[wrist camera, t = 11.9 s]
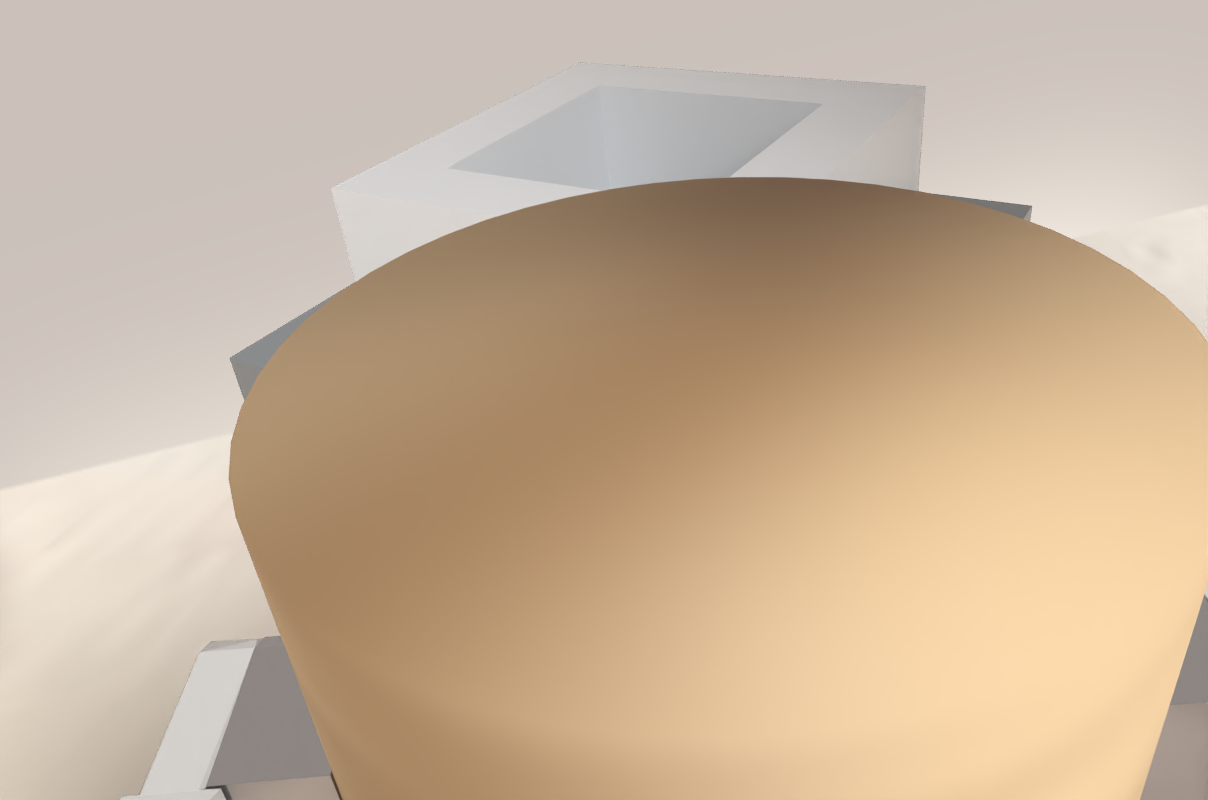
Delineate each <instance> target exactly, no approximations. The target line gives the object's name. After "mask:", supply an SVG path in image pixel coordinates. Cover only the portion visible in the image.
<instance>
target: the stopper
mask: <svg viewBox="0 0 1208 800" xmlns="http://www.w3.org/2000/svg"><path fill="white" fill-rule="evenodd" d="M229 483H230V488H231V494H232V499H233V504H234V510H235V515H236V519H237V522H238V524H239V527H240V530H241V532H242V535H243V537H244V540H245V543H246V545H247V548H248V551H249V553H250V556H251V559H252V561H253V564H254V567H255V569H256V572H257V575H258V577H259V580H260V582H261V585H262V588H263V590H264V593H265V596H266V598H267V601H268V604H269V606H270V609H271V612H272V614H273V617H274V620H275V622H276V625H277V627H278V630H279V633H280V635H281V638H282V641H283V643H284V646H285V649H286V651H287V654H288V657H289V659H290V662H291V664H292V667H293V670H294V672H295V675H296V678H297V680H298V683H299V686H300V688H301V691H302V694H303V696H304V699H305V702H306V704H307V707H308V709H309V712H310V715H311V717H312V720H313V723H314V725H315V728H316V731H317V733H318V736H319V739H320V741H321V744H322V746H323V749H324V752H325V754H326V757H327V760H328V762H329V765H330V768H331V770H332V773H333V776H334V778H335V781H336V784H337V786H338V789H339V791H340V794H341V797H342V799H343V800H1140V798H1141V794H1142V791H1143V788H1144V785H1145V782H1146V778H1147V775H1148V772H1149V769H1150V766H1151V763H1152V759H1153V756H1154V753H1155V750H1156V747H1157V744H1158V740H1159V737H1160V734H1161V731H1162V728H1163V724H1164V721H1165V718H1166V715H1167V712H1168V709H1169V705H1170V702H1171V699H1172V696H1173V693H1174V690H1175V686H1176V683H1177V680H1178V677H1179V674H1180V670H1181V667H1182V664H1183V661H1184V658H1185V655H1186V651H1187V648H1188V645H1189V642H1190V639H1191V636H1192V632H1193V629H1194V626H1195V623H1196V620H1197V616H1198V613H1199V610H1200V607H1201V604H1202V601H1203V597H1204V594H1205V591H1206V588H1207V585H1208V342H1207V341H1206V340H1205V338H1204V337H1203V335H1202V334H1201V333H1200V331H1199V330H1198V329H1197V327H1196V326H1195V325H1194V324H1193V323H1192V322H1191V321H1190V320H1189V319H1188V318H1187V317H1186V316H1185V315H1184V314H1183V313H1182V312H1181V311H1180V310H1179V309H1178V308H1177V307H1176V306H1175V305H1174V304H1173V303H1172V302H1170V301H1169V300H1168V299H1167V298H1166V297H1165V296H1164V295H1163V294H1161V293H1160V292H1159V291H1157V290H1156V289H1155V288H1153V287H1152V286H1150V285H1149V284H1148V283H1146V282H1145V281H1144V280H1142V279H1141V278H1140V277H1138V276H1137V275H1136V274H1134V273H1133V272H1132V271H1130V270H1128V269H1127V268H1125V267H1123V266H1121V265H1120V264H1118V263H1116V262H1115V261H1113V260H1111V259H1109V258H1108V257H1106V256H1104V255H1103V254H1101V253H1099V252H1097V251H1096V250H1094V249H1092V248H1090V247H1088V246H1086V245H1084V244H1081V243H1079V242H1077V241H1075V240H1073V239H1071V238H1068V237H1066V236H1064V235H1062V234H1060V233H1058V232H1055V231H1053V230H1051V229H1048V228H1045V227H1043V226H1040V225H1037V224H1034V223H1032V222H1029V221H1026V220H1024V219H1021V218H1018V217H1016V216H1013V215H1010V214H1007V213H1003V212H1000V211H996V210H993V209H990V208H986V207H983V206H979V205H976V204H972V203H969V202H965V201H961V200H956V199H952V198H947V197H943V196H938V195H934V194H929V193H924V192H919V191H914V190H907V189H901V188H895V187H889V186H882V185H876V184H867V183H857V182H848V181H839V180H827V179H809V178H790V177H731V178H708V179H691V180H680V181H670V182H659V183H650V184H643V185H636V186H629V187H622V188H615V189H608V190H603V191H598V192H592V193H587V194H582V195H577V196H572V197H567V198H563V199H559V200H555V201H551V202H547V203H543V204H539V205H534V206H530V207H526V208H523V209H520V210H516V211H513V212H510V213H507V214H503V215H500V216H497V217H494V218H490V219H487V220H484V221H481V222H479V223H476V224H473V225H471V226H468V227H465V228H463V229H460V230H457V231H455V232H452V233H449V234H447V235H444V236H442V237H440V238H438V239H435V240H433V241H431V242H429V243H426V244H424V245H422V246H420V247H418V248H415V249H413V250H411V251H409V252H407V253H405V254H403V255H401V256H399V257H397V258H396V259H394V260H392V261H390V262H388V263H386V264H385V265H383V266H381V267H379V268H377V269H375V270H373V271H372V272H370V273H369V274H367V275H365V276H364V277H362V278H361V279H359V280H358V281H356V282H355V283H353V284H352V285H350V286H349V287H347V288H346V289H344V290H343V291H341V292H340V293H338V294H337V295H335V296H334V297H333V298H332V299H331V300H329V301H328V302H327V303H326V304H324V305H323V306H322V307H321V308H319V309H318V310H317V311H316V312H314V313H313V314H312V315H311V316H309V317H308V318H307V319H306V320H305V321H304V322H303V323H302V324H301V325H300V326H299V327H298V328H297V329H296V330H295V331H294V332H293V333H292V334H291V335H290V336H289V337H288V338H287V339H286V340H285V341H284V342H283V343H282V344H281V345H280V347H279V348H278V349H277V351H276V352H275V353H274V355H273V356H272V357H271V359H270V360H269V361H268V363H267V364H266V365H265V367H264V368H263V369H262V371H261V372H260V373H259V375H258V376H257V378H256V380H255V382H254V384H253V386H252V388H251V390H250V392H249V393H248V395H247V397H246V399H245V401H244V403H243V405H242V407H241V410H240V413H239V417H238V420H237V424H236V427H235V430H234V434H233V437H232V441H231V451H230V467H229Z"/></svg>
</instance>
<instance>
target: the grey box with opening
mask: <svg viewBox="0 0 1208 800" xmlns="http://www.w3.org/2000/svg"><path fill="white" fill-rule="evenodd" d="M924 102H925V86H915V85H900V84H886V83H885V84H884V83H871V82H857V81H841V80H828V79H813V78H799V77H784V76H783V77H782V76H770V75H755V74H740V73H726V72H712V71H697V70H683V69H668V68H653V67H639V66H625V65H610V64H596V63H595V64H594V63H581V62H580V63H578V64H576V65H575V66H572V67H570V68H568V69H566V70H565V71H562V72H560V73H558V74H556V75H554V76H552V77H550V78H548V79H546V80H544V81H542V82H540V83H538V84H536V85H534V86H532V87H530V88H528V89H527V90H525V91H523V92H521V93H519V94H517V95H515V96H513V97H511V98H509V99H507V100H505V101H503V102H501V103H499V104H497V105H495V106H493V107H491V108H489V109H487V110H485V111H483V112H481V113H479V114H477V115H475V116H473V117H471V118H469V119H467V120H465V121H463V122H461V123H459V124H457V125H455V126H453V127H451V128H449V129H447V130H445V131H443V132H441V133H439V134H437V135H435V136H433V137H431V138H429V139H427V140H426V141H423V142H421V143H419V144H417V145H415V146H413V147H411V148H409V149H407V150H405V151H403V152H401V153H399V154H397V155H395V156H393V157H391V158H389V159H387V160H385V161H383V162H382V163H379V164H377V165H376V166H374V167H371V168H369V169H368V170H365V171H364V172H361V173H359V174H357V175H356V176H353V177H351V178H350V179H348V180H346V181H344V182H342V183H340V184H338V185H336V186H334V187H332V188H331V191H332V195H333V199H334V203H335V207H336V210H337V215H338V218H339V222H340V226H341V230H342V234H343V238H344V241H345V245H346V249H347V253H348V256H349V261H350V264H351V268H352V272H353V276H354V280H355V282H356V281H358V280H359V279H361V278H362V277H364V276H365V275H367V274H369V273H370V272H372V271H373V270H375V269H377V268H379V267H381V266H383V265H385V264H386V263H388V262H390V261H392V260H394V259H396V258H397V257H399V256H401V255H403V254H405V253H407V252H409V251H411V250H413V249H415V248H418V247H420V246H422V245H424V244H426V243H429V242H431V241H433V240H435V239H438V238H440V237H442V236H444V235H447V234H449V233H452V232H455V231H457V230H460V229H463V228H465V227H468V226H471V225H473V224H476V223H479V222H481V221H484V220H487V219H490V218H494V217H497V216H500V215H503V214H507V213H510V212H513V211H516V210H520V209H523V208H526V207H530V206H534V205H539V204H543V203H547V202H551V201H555V200H559V199H563V198H567V197H572V196H577V195H582V194H587V193H592V192H598V191H603V190H608V189H615V188H622V187H629V186H636V185H643V184H650V183H659V182H670V181H680V180H691V179H708V178H731V177H790V178H809V179H827V180H839V181H848V182H857V183H867V184H876V185H882V186H889V187H895V188H901V189H907V190H914V191H918V186H919V173H920V158H921V144H922V129H923V116H924ZM929 194H930V193H929ZM934 195H938V194H934ZM938 196H943V197H947V198H952V199H956V200H961V201H965V202H969V203H972V204H976V205H979V206H983V207H986V208H990V209H993V210H996V211H1000V212H1003V213H1007V214H1010V215H1013V216H1016V217H1018V218H1021V219H1024V220H1026V221H1029V222H1030V218H1031V211H1032V206H1028V205H1020V204H1011V203H1004V202H996V201H987V200H979V199H970V198H963V197H955V196H946V195H938ZM351 285H352V284H351ZM348 287H349V286H348ZM346 288H347V287H346ZM346 288H345V289H346ZM343 290H344V289H343ZM343 290H341V291H343ZM341 291H340V292H341ZM340 292H338V293H340ZM338 293H337V294H338ZM337 294H335V295H337ZM335 295H333V296H331V297H330V298H328V299H327V300H325V301H323V302H322V303H320V304H318V305H317V306H315V307H313V308H312V309H310V310H308V311H307V312H305V313H303V314H302V315H300V316H298V317H297V318H295V319H294V320H292V321H290V322H288V323H287V324H285V325H283V326H282V327H280V328H278V329H277V330H275V331H274V332H272V333H270V334H269V335H267V336H265V337H264V338H262V339H260V340H259V341H257V342H255V343H254V344H252V345H250V346H249V347H247V348H245V349H244V350H242V351H240V352H239V353H237V354H235V355H234V356H232V357H231V358H230V361H231V363H232V366H233V369H234V372H235V375H236V378H237V380H238V383H239V386H240V389H241V392H242V395H243V397H244V400H245V399H246V397H247V395H248V393H249V392H250V390H251V388H252V386H253V384H254V382H255V380H256V378H257V376H258V375H259V373H260V372H261V371H262V369H263V368H264V367H265V365H266V364H267V363H268V361H269V360H270V359H271V357H272V356H273V355H274V353H275V352H276V351H277V349H278V348H279V347H280V345H281V344H282V343H283V342H284V341H285V340H286V339H287V338H288V337H289V336H290V335H291V334H292V333H293V332H294V331H295V330H296V329H297V328H298V327H299V326H300V325H301V324H302V323H303V322H304V321H305V320H306V319H307V318H308V317H309V316H311V315H312V314H313V313H314V312H316V311H317V310H318V309H319V308H321V307H322V306H323V305H324V304H326V303H327V302H328V301H329V300H331V299H332V298H333V297H334V296H335Z"/></svg>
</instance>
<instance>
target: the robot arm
mask: <svg viewBox="0 0 1208 800" xmlns="http://www.w3.org/2000/svg"><path fill="white" fill-rule="evenodd" d="M119 800H343V799H342V797H341V794H340V791H339V789H338V786H337V784H336V781H335V778H334V776H333V773H332V770H331V768H330V765H329V762H328V760H327V757H326V754H325V752H324V749H323V746H322V744H321V741H320V739H319V736H318V733H317V731H316V728H315V725H314V723H313V720H312V717H311V715H310V712H309V709H308V707H307V704H306V702H305V699H304V696H303V694H302V691H301V688H300V686H299V683H298V680H297V678H296V675H295V672H294V670H293V667H292V664H291V662H290V659H289V657H288V654H287V651H286V649H285V646H284V643H283V641H282V638H281V636H274V637H265V638H263V639H246V640H229V641H212V642H210V643H209V644H208V645H207V646H206V647H205V648H204V649H203V650H202V651H201V652H200V653H199V655H198V656H197V659H196V661H195V663H194V666H193V668H192V670H191V673H190V675H189V677H188V680H187V682H186V685H185V687H184V689H183V692H182V694H181V696H180V699H179V701H178V703H177V706H176V708H175V711H174V713H173V715H172V718H171V720H170V722H169V725H168V727H167V729H166V732H165V734H164V737H163V739H162V741H161V744H160V746H159V748H158V751H157V753H156V756H155V758H154V760H153V763H152V765H151V767H150V770H149V772H148V774H147V777H146V779H145V782H144V784H143V786H142V789H141V791H140V793H139V795H133V796H123V797H121V798H120V799H119ZM1140 800H1208V585H1207V588H1206V591H1205V594H1204V597H1203V601H1202V604H1201V607H1200V610H1199V613H1198V616H1197V620H1196V623H1195V626H1194V629H1193V632H1192V636H1191V639H1190V642H1189V645H1188V648H1187V651H1186V655H1185V658H1184V661H1183V664H1182V667H1181V670H1180V674H1179V677H1178V680H1177V683H1176V686H1175V690H1174V693H1173V696H1172V699H1171V702H1170V705H1169V709H1168V712H1167V715H1166V718H1165V721H1164V724H1163V728H1162V731H1161V734H1160V737H1159V740H1158V744H1157V747H1156V750H1155V753H1154V756H1153V759H1152V763H1151V766H1150V769H1149V772H1148V775H1147V778H1146V782H1145V785H1144V788H1143V791H1142V794H1141V798H1140Z"/></svg>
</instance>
